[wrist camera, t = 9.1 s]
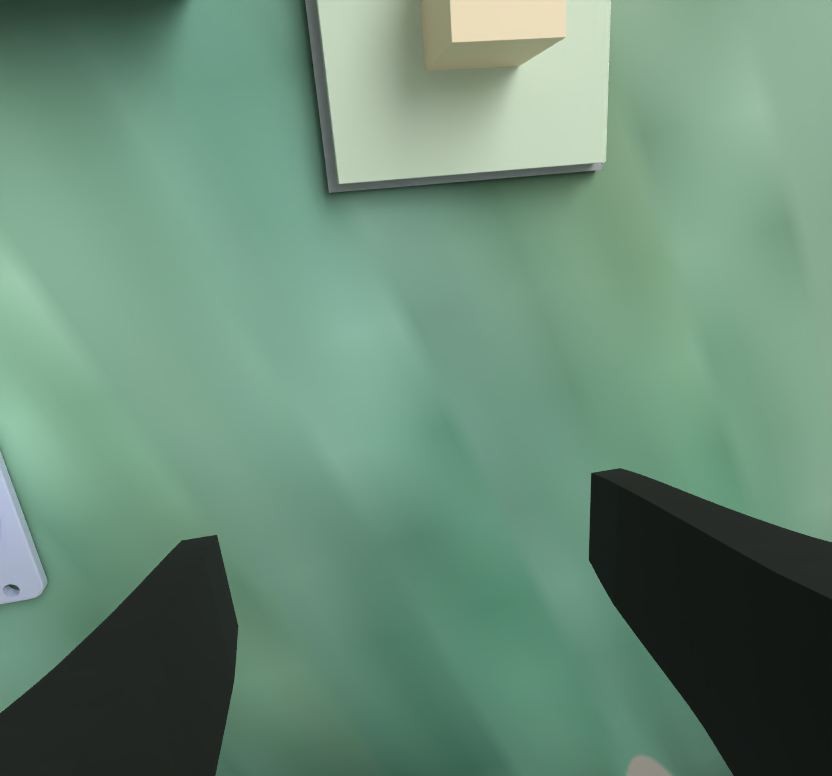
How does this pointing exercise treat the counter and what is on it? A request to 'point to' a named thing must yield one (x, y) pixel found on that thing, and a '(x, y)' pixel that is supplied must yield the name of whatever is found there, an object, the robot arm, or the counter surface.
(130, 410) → the counter surface
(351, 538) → the counter surface
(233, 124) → the counter surface
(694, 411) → the counter surface
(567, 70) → the lid
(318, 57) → the rubber mat
